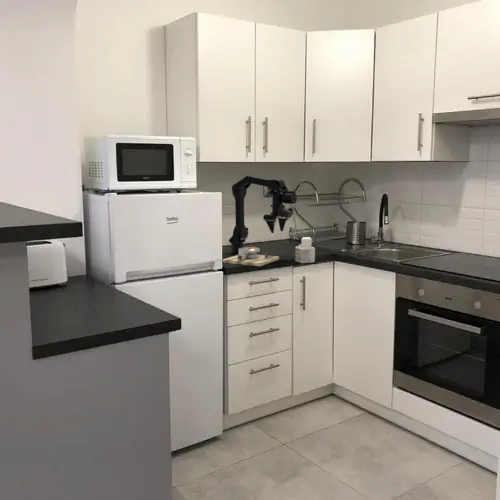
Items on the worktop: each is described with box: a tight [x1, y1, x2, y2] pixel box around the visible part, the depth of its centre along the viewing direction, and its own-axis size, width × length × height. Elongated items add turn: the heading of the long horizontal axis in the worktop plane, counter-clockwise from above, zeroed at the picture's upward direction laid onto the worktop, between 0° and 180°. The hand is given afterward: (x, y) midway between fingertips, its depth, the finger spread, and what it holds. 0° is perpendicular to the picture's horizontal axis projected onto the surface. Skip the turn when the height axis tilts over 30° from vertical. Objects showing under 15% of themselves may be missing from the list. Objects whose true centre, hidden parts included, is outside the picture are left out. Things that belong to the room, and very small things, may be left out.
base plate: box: [222, 252, 280, 267], centre depth 291 cm, size 22×22×5 cm
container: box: [294, 236, 316, 264], centre depth 288 cm, size 8×8×13 cm
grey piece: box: [238, 246, 261, 256], centre depth 288 cm, size 16×9×4 cm, turn 151°
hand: (277, 232), depth 297 cm, fingers open, 9 cm apart
